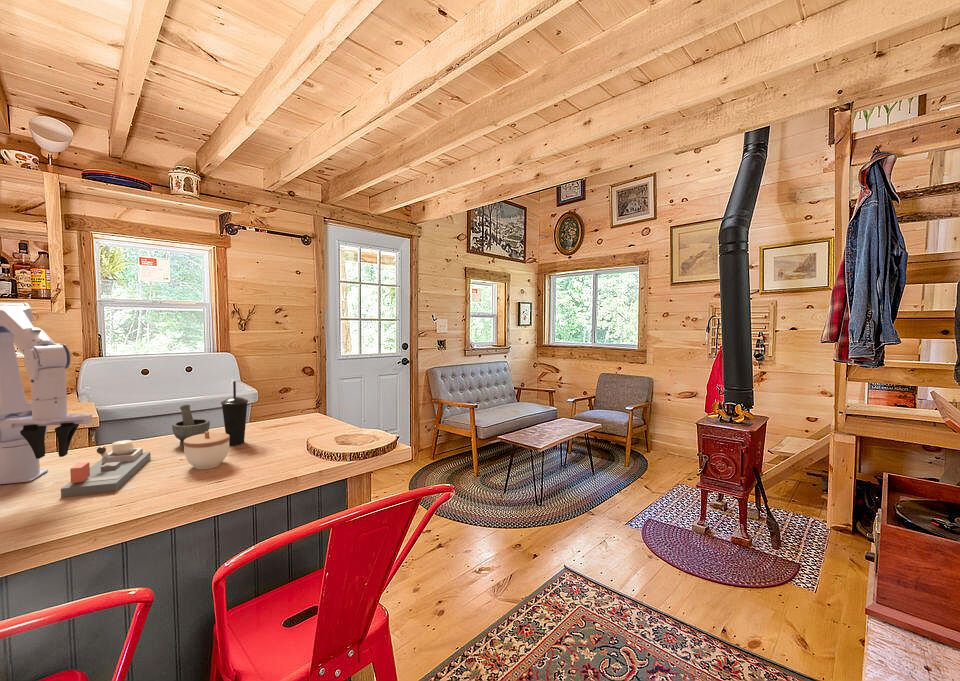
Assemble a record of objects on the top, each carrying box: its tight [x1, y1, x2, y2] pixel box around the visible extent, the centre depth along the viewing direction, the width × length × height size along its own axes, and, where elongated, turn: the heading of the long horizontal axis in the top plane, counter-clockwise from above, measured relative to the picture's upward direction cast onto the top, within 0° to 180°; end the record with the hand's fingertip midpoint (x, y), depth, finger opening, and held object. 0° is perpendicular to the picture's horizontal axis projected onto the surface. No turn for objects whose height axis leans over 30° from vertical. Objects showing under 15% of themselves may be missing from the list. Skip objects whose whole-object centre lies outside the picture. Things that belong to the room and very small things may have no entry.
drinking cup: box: [220, 380, 249, 446], centre depth 139 cm, size 8×8×20 cm
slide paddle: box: [69, 461, 91, 483], centre depth 102 cm, size 2×4×3 cm, turn 22°
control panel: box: [60, 447, 152, 498], centre depth 111 cm, size 10×24×4 cm, turn 22°
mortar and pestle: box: [171, 404, 211, 448], centre depth 138 cm, size 11×9×12 cm
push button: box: [111, 439, 134, 454], centre depth 118 cm, size 4×4×2 cm
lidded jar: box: [183, 430, 230, 470], centre depth 119 cm, size 11×11×9 cm
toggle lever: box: [96, 446, 111, 461], centre depth 110 cm, size 2×2×4 cm
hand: (51, 456), depth 100 cm, fingers open, 3 cm apart
